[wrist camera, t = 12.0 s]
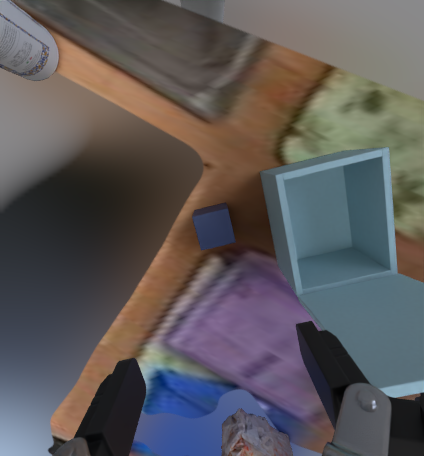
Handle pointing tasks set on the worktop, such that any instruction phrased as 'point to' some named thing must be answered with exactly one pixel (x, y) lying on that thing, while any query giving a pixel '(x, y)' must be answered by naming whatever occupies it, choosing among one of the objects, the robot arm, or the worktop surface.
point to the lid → (377, 329)
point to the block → (213, 226)
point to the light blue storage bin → (332, 219)
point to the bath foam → (25, 44)
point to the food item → (252, 437)
